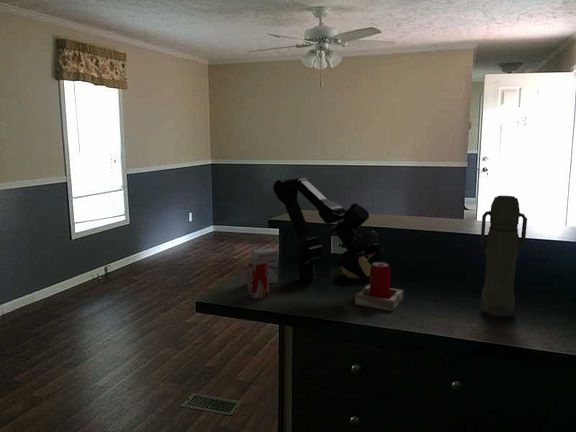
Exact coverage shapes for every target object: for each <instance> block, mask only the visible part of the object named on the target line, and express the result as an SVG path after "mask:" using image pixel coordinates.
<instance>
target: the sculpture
mask: <svg viewBox="0 0 576 432" xmlns="http://www.w3.org/2000/svg"><path fill="white" fill-rule="evenodd" d="M362 254H363V253H362ZM367 260H369V259H366V258H365V257H360V258H359V265H360V266H361V268H362V270H363V272H364V273H365V275H366V277H367V278H369V276H370V268H371V266H372V265H371V264H370V263H369V262H368V261H367ZM340 269H341V272H342V273H343V275H345V276H346V277H347V278H349V279H361V278H360V277H358V276H356V275H355V274H353V273H351V272H349V271H348V270H346V269H343V267H341V268H340Z"/></svg>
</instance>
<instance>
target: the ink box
mask: <svg viewBox="0 0 576 432" xmlns="http://www.w3.org/2000/svg"><path fill="white" fill-rule="evenodd" d="M278 256H279V255H278V251H277V250H276V249H273V248H263V249H254V250H251V252H250V260H253V259H263V260H266V261H267V262H266V263H267V265H268V270H269V284H274V283H278V267H279V266H278V258H279V257H278Z"/></svg>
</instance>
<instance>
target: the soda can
mask: <svg viewBox="0 0 576 432" xmlns="http://www.w3.org/2000/svg"><path fill="white" fill-rule="evenodd" d="M266 262H267V261H266V260H263V259H253V260H251V259H250V260H248V265H247V266H246V267H247V269H246V280H247V281H246V283H247V288H246V289H247V295H248V297H250V298H252V299H255V300H260V299H265V298H266V297H267V296H269V290H270V286H269V285H270V283H269V270H268V265H267V263H266Z"/></svg>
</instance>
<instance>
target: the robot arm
mask: <svg viewBox="0 0 576 432" xmlns="http://www.w3.org/2000/svg"><path fill="white" fill-rule="evenodd" d="M273 191H274V194H275V196H276V198H277V199H278V200H279V202H281V203H282V204H283V205H284V206H285V209H286V211H287V214H288V217H289V220H290V222H291V224H292V227H293V230H294V232H295V235H296V238H297V246H296V249H297V254H296V255H295V256H294V257H293V258H292V260H293V264H294V265H297V266H298V276H297V277H296V278H294V280H295V281H299V282H305V283H312V282H314V281H315V280H317V279H318V278H319V277H318V276H316V275H315V263H319V262H320V259H321V257H322V254H323V249H322V248H323V245H322V244H321V241H320V238H319V237H318V236H316V237H314V236H313V235H312V234H311V231H310V229H309V227H308V226H309V225H307V221H306V219H305V217H304V214H303V211H302V209H301V206H300V204H299V201H298V195H299V193H300V194H301V195H302V196H303V197H305V199H306V200H307V201H308V202H309V203H311V204H312V206H314V207H315V209H316V210H317V212H318V215H319V217H320V218H321V220H322V221H323V222H324V224H327V225H331V224H335V223H336V224H335V225H333V226H332V225H331V226H330V230H329V235H335V234H336V236H337V237H338V239H339V240H340V242H341V245H340V247H341V249H344V248H345V250H346V251H344V252H342V254H340V256H339V257H337V258H336V260H335V261H336V262H335V263H336V265H337V266H338V268H339V269H342V268H341V267H343V269H346V270H348V271H349V272H351V273H353V274H355V275H356V276H358V277H360V278H359V279H361V280H363V281H366V280H367V279H368V277H366V275H365V273H364V272H363V270H362V268H361V266H360V265H359V258H360V257H365V258H366V259H369V260H367V261H368V262H369V263H370V264H371V265H372V263H374V262H382V260H381V255H382V253H383V250H384V246H383V245H382V243H379V241H378V239H379V234H378V233H377V231H376V230H375V229H374V230H370V231H368V232H367V234H363V235H362V234H360V233H358V234H357V232H356V231H355V230H359V228H361V226H363V224H364V223H365V222H366V221H368V219H369V218H370V214H369V211H368V210H367V209H366V208H364V207H363V206H362V205H359V203H357V202H356V203H352V204H351V205H350V207H349V208H348V209H345V208H344V207H343V206H342V205H340V204H338V203H337V202H335V201H332V200H330V199H328V198H327V197H325V196H324V194H322V193H321V192H320V190H318V189H317V188H316V187H315V186H314V185H312V183H310V181H309V179H308V178H306V177H296V178H294V179H291V178H288V179H279V180H276V181H275V182H274V184H273ZM362 253H363V254H362Z"/></svg>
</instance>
